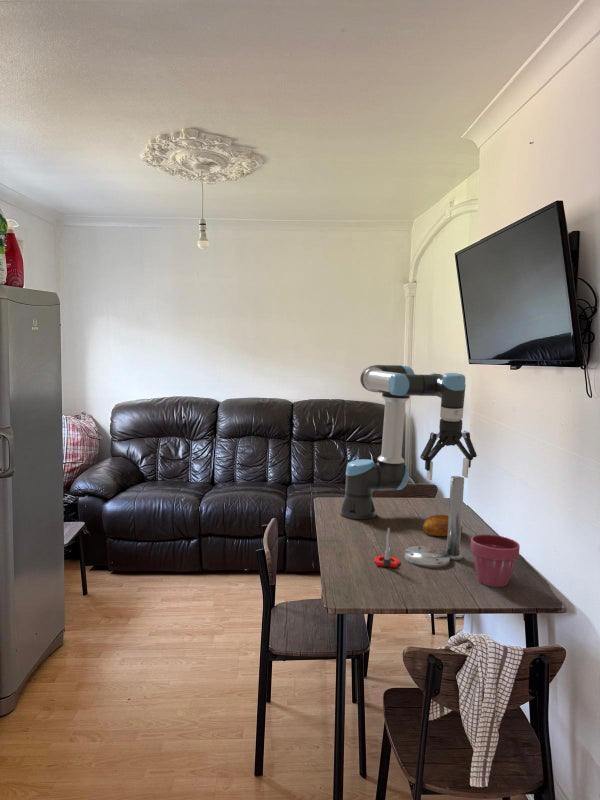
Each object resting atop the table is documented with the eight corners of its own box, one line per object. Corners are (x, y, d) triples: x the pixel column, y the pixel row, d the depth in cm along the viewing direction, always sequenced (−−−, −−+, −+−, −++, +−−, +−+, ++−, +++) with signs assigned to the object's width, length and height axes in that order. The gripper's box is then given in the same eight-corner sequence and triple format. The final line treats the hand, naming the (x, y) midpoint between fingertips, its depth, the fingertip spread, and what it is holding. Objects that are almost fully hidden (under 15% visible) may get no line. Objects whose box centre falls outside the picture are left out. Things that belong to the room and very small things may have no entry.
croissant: (464, 544, 216) (469, 524, 215) (425, 537, 215) (429, 517, 214) (453, 531, 231) (457, 512, 230) (416, 525, 230) (420, 506, 229)
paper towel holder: (397, 553, 197) (401, 474, 195) (449, 549, 203) (453, 472, 201) (417, 569, 183) (422, 484, 180) (473, 564, 189) (478, 482, 186)
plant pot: (507, 573, 182) (510, 534, 181) (524, 591, 168) (527, 550, 167) (463, 571, 182) (465, 532, 181) (475, 589, 168) (478, 547, 167)
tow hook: (374, 557, 193) (373, 566, 184) (376, 520, 192) (375, 527, 183) (399, 560, 192) (399, 569, 182) (401, 522, 191) (402, 529, 182)
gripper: (422, 423, 186) (418, 483, 191) (490, 419, 192) (485, 479, 196) (412, 417, 193) (409, 476, 198) (478, 414, 199) (473, 471, 203)
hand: (447, 477), depth 197 cm, fingers open, 13 cm apart
